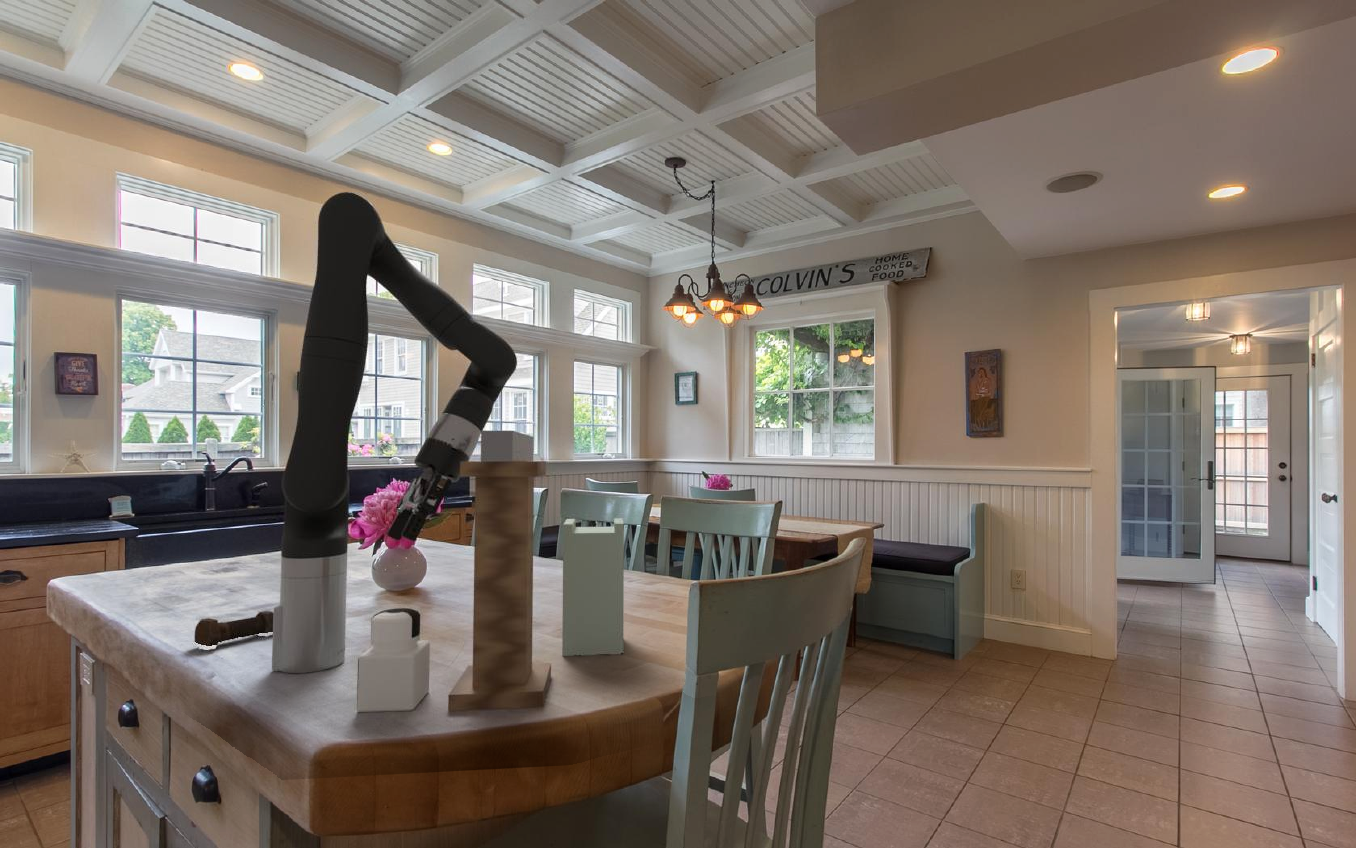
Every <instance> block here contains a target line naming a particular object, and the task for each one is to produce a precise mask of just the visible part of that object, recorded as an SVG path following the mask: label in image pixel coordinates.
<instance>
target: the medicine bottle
mask: <svg viewBox="0 0 1356 848" xmlns="http://www.w3.org/2000/svg"><path fill="white" fill-rule="evenodd" d="M370 621H371V624H370V645H371V647H370V648H368V649H367V650H366V651H365V652H363V653H362V654H360V655H359V656H358V658H357V687H356V689H357V691H356V711H357V712H358V713H377V712H381V713H382V712H383V713H384V712H407V711H410V712H411V711H413V710H414V709H416V707H417V706H418V705H419V703H421V701H422V700H423V699H424V698H425V696H426V695H427V694H428V693H429V691H430V664H431V663H430V659H431V658H430V656H431V655H430V653H431V651H430V650H431V642H430V641H429V640H428V639H427V640H420V639H421V613H420V612H419V611H418V610H415V609H413V608H408V607H407V608H406V607H404V608H403V607H399V608H398V607H397V608H396V607H395V608H391V609H390V608H389V609H384V610H380V611H379V612H377V613H376V614H373V616H372V617H371V619H370Z"/></svg>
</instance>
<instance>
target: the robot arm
mask: <svg viewBox="0 0 1356 848" xmlns="http://www.w3.org/2000/svg"><path fill="white" fill-rule="evenodd" d="M317 220H318V221H317V222H318V223H317V261H316V262H317V263H316V271H315V272H316V274H315V279H314V283H313V289H312V292H311V298H310V303H309V308H308V313H307V314H308V315H307V320H306V324H305V330H304V334H303V341H302V348H301V355H300V363H299V373H298V375H299V376H298V391H297V393H298V394H297V397H298V398H297V403H298V404H297V405H298V406H297V419H296V427H295V432H294V436H293V440H292V444H291V447H290V450H289V455H288V458H287V461H286V466H285V469H284V471H283V475H282V477H281V490H282V493H283V495H284V514H283V515H284V520H283V530H282V535H281V536H282V537H281V546H280V547H281V548H280V549H281V552H280V554H281V555H280V556H281V557H280V593H279V605H277V606H274V608H273V635H272V645H271V646H272V653H271V671H272V670H280V671H279V672H283V673H288V674H299V673H302V674H303V673H311V672H319V671H323V670H328V669H331V668H333V667H336V666H339V665H340V664H342V663H344V661H345V659H346V658H345V655H346V627H347V626H346V623H347V621H346V620H347V617H346V616H347V585H348V584H347V583H348V582H347V581H348V578H347V577H348V571H347V570H348V547H349V546H348V543H349V542H348V541H349V515H350V513H349V510H350V509H349V508H350V476H349V475H350V474H349V469H348V466H349V465H348V463H349V462H348V460H349V458H348V457H349V456H348V455H349V435H350V429H351V428H350V427H351V422H352V418H353V414H354V411H355V409H356V405H357V402H358V398H359V395H360V391H361V387H362V383H363V378H364V375H365V369H366V360H367V354H368V348H369V346H368V345H369V312H368V311H369V310H368V309H369V308H368V299H367V295H368V294H367V283H368V281H367V280H368V276H370V278H372V279H373V280H374V281H376V282H377V283H379V284H380V285H381V286H382V287H383V288H384V289H385V290H387V291H388V292H389V293H390V294H391V295H392V296H393V297H394V298H395V299H396V300H397V301H398V302H399V303H400V304H401V305H402V306H403V307H404V308H405V309H406V310H407V311H408V312H409V313H410V314H411V315H412V316H413V318H414V319H416V320H417V322H419V323H420V325H422V327H423V328H424V329H425V330H427V331H428V332H429V333H430V335H432V336H433V337H434V338H435V339H436V340H437V341H438V342H439V343H440V344H441V345H442V346H443V347H445V349H447V350H450V351H458V352H459V353H461V354H462V355H463V356H464V357H465V358H467V359H468V360H469V361H470V363H469V365H468V368H467V369H466V371H465V373H464V376H463V378H462V380H461V381H460V384H459V386H458V389H456V390H455V392H454V393H453V394H452V396H451V397H450V399H449V400H448V402H447V404H446V406H445V408H444V409H443V411H442V413H441V414H440V416H439V418H438V419H437V421H436V422H435V423H434V424H433V426H432V428H431V430H430V431H429V433H428V435H427V437H426V438H425V440H424V442H423V444H422V446H421V447H420V450H419V451H418V452H417V453H418V454H417V455H416V456H415V458H414V464H415V466H416V467H417V468H419V469H420V470H421V471H422V473H421V475H420V476H419V478H415V477H414V478H412V479H411V480H410V483H409V485H408V486H407V488H406V490H405V491H404V493H403V495H402V496H401V499H400V501H399V502H398V504H397V505H396V506H395V511H396V516H395V517H394V519H393V521H392V523H391V525H390V526H389V528H388V531H387V533H386V536H387V537H388V538H390V539H392V540H394V541H400V540H401V539H402V538H404V539H406V540H408V541H410V542H415V541H416V540H418V539H417V538H418V536H419V535H420V533H421V532H422V529H423V527H424V525H425V523H426V522H427V520H429V519H430V518H431V517H432V516H435V514H437V512H438V510H439V507H440V506H441V504H442V501H443V500H444V497H445V495H447V494H446V493H447V491H448V490H449V488H450V486H451V484H452V483H456V482H458V481H459V480H460V478H461V477H460V462H467V461H470V458H471V457H472V455H473V453H474V451H475V450H476V447H477V445H478V442H479V439H480V438H481V431H484V429H485V427H486V424H487V423H488V421H489V419H490V417H491V414H492V411H493V409H494V405H495V403H496V402H497V400H498V397H499V396H500V394H501V393H502V391H503V389H504V387H505V385H506V384H507V382H508V381H509V379H510V378H511V376H512V375H513V374H514V373H515V372H516V370H517V366H518V357H517V355H516V352H515V351H514V349H513V348H512V346H511V345H510V344H509V343H508V341H506V340H505V339H504V338H503V337H502V336H500V335H499V334H498V333H496V332H494V331H493V330H491V329H490V328H489V327H487V326H486V325H484V324H482V323H481V322H479V321H478V320H476V319H475V318H474V317H473V316H472V315H471V314H470V313H469V312H468V311H467V310H466V309H465V308H464V307H463V306H462V305H461V304H460V303H459V301H457V300H456V299H455V298H454V297H453V296H451V294H450V293H449V292H447V291H446V290H445V289H444V288H443V287H442V286H440V285H438V284H437V283H436V282H435V281H433V280H432V279H431V278H429V277H428V276H427V275H426V274H424V273H422V271H420V270H419V269H418V268H417V267H415V266H414V265H413V264H412V263H411V262H410V261H409V260H408V259H407V257H406V256H405V255H403V254H402V253H403V252H401V251H400V249H398V247H397V246H396V245H395V243H394V242H393V241H392V239H391V238H390V237H389V235H388V234H387V233H386V231H385V230H386V229H385V227H384V226H385V225H383V221H382V218H381V216H380V214H379V213H378V211H377V209H376V207H374V205H373V204H372V203H371V202H370V201H369V200H368V199H367V198H365V197H364V196H363V195H360V194H359V193H355V192H352V191H351V192H350V191H343V192H339V193H336V194H333V195H332V196H331V197H329V198H328V199H327V200H326V201H325V202H324V204H323V205H322V206H321V208H320V211H319V214H318V219H317Z"/></svg>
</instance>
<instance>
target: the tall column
mask: <svg viewBox="0 0 1356 848" xmlns="http://www.w3.org/2000/svg"><path fill="white" fill-rule="evenodd" d="M545 475H547V461H544V460H539V461H538V460H535V461H534V460H533V461H511V462H481V460H479V461H478V460H477V461H476V460H475V461H474V460H472V461H470V460H469V461H467V462H460V478H465V477H466V478H467V477H468V478H472V477H473V478H474V479H475V483H474V488H475V491H474V544H473V545H474V548H473V549H474V551H473V552H474V553H473V555H474V556H473V560H474V561H473V565H474V567H473V568H474V569H473V615H472V617H473V618H472V619H473V627H472V631H473V632H472V665H467V667H466V668H465V670H464V671H463V673H462V674H461V676H460V677H459V679H458V680H457V681H456V683H455V684H454V686H453V687H452V689H451V691H450V692H449V694H448V699H447V701H448V702H447V703H448V707H447V711H449V712H452V711H476V710H477V711H479V710H497V709H498V710H499V709H500V710H501V709H502V710H504V709H524V708H525V709H526V708H543V707H544V704H545V700H546V697H547V693H548V689H549V685H550V682H551V677H552V662H535V663H533V619H534V618H533V614H534V611H533V607H534V606H533V604H534V603H533V602H534V600H533V598H534V593H533V591H534V590H533V589H534V513H535V512H534V508H535V507H534V506H535V505H534V504H535V503H534V502H535V501H534V500H535V498H534V495H535V492H534V491H535V487H534V486H535V477H541V476H545Z"/></svg>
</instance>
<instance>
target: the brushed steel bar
mask: <svg viewBox="0 0 1356 848" xmlns="http://www.w3.org/2000/svg"><path fill="white" fill-rule="evenodd" d="M480 461H481V462H511V461H534V436H531V435H528V434H526V433H525V434H524V433H522V432H519V431H515V430H483V431H481V435H480Z"/></svg>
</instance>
